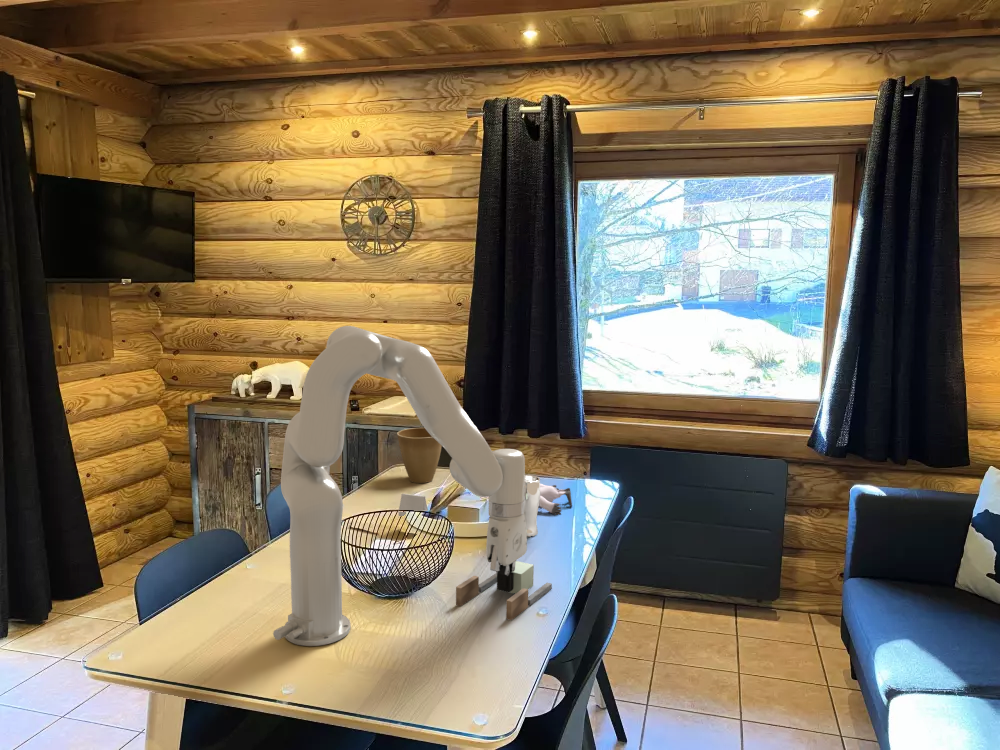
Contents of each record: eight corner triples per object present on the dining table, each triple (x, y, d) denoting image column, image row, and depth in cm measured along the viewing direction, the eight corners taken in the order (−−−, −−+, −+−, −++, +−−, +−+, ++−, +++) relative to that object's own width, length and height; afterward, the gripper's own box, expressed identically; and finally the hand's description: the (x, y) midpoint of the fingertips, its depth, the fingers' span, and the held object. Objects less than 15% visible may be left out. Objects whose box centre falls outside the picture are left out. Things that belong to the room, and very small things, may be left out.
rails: (530, 605, 165) (530, 600, 165) (476, 591, 172) (476, 586, 172) (551, 588, 174) (551, 583, 174) (499, 575, 180) (499, 570, 180)
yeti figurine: (575, 502, 242) (511, 496, 245) (576, 480, 241) (512, 475, 245) (569, 517, 223) (499, 511, 226) (570, 494, 222) (500, 488, 226)
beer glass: (544, 531, 210) (545, 477, 207) (531, 539, 204) (532, 483, 202) (521, 526, 213) (522, 473, 211) (508, 534, 207) (509, 479, 205)
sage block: (521, 596, 170) (521, 574, 170) (496, 590, 173) (497, 568, 172) (533, 586, 175) (533, 564, 175) (509, 580, 178) (509, 559, 178)
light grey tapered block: (421, 535, 206) (421, 498, 204) (398, 532, 208) (398, 495, 207) (427, 530, 209) (427, 494, 208) (405, 527, 212) (404, 491, 210)
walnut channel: (511, 620, 158) (511, 601, 158) (455, 604, 165) (456, 586, 165) (527, 607, 164) (528, 589, 164) (473, 593, 171) (474, 575, 171)
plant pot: (430, 471, 267) (430, 425, 264) (451, 482, 254) (451, 434, 252) (389, 477, 259) (389, 430, 256) (410, 489, 246) (409, 439, 244)
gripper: (503, 520, 158) (502, 607, 161) (538, 501, 171) (536, 581, 174) (472, 514, 162) (471, 598, 165) (508, 495, 175) (507, 574, 177)
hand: (505, 589), depth 169 cm, fingers closed
